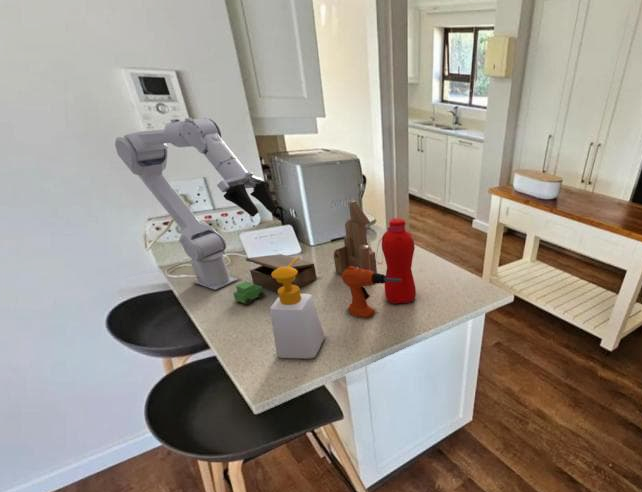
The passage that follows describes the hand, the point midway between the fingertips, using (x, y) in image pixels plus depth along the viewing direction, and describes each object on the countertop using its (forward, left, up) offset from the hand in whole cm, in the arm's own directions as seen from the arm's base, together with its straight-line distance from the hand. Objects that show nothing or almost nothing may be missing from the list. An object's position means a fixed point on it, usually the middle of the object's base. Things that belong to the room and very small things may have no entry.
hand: (265, 212), depth 95 cm
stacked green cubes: (-10, -4, -27) cm, 29 cm away
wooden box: (-10, +9, -27) cm, 30 cm away
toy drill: (+28, +6, -27) cm, 39 cm away
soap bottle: (+20, -13, -27) cm, 36 cm away
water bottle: (+28, +18, -27) cm, 43 cm away
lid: (-10, +9, -20) cm, 24 cm away
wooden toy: (+8, +24, -27) cm, 37 cm away
